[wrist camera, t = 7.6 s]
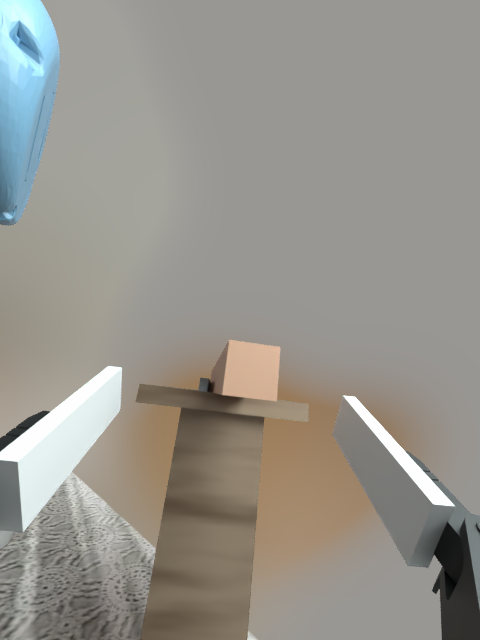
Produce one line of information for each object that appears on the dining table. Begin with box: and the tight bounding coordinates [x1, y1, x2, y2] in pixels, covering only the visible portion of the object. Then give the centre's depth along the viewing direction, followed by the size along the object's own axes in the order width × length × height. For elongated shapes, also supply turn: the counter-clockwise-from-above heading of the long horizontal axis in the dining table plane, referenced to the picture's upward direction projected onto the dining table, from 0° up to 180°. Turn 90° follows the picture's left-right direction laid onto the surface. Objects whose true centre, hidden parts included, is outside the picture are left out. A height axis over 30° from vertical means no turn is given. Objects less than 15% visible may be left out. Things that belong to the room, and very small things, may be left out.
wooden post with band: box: [136, 378, 309, 640], centre depth 23 cm, size 13×16×31 cm
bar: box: [210, 340, 280, 401], centre depth 24 cm, size 24×3×3 cm, turn 9°
